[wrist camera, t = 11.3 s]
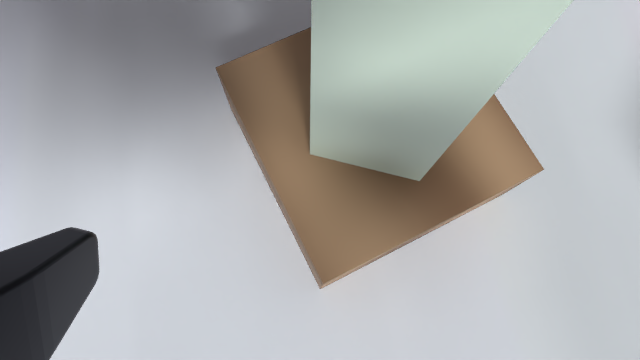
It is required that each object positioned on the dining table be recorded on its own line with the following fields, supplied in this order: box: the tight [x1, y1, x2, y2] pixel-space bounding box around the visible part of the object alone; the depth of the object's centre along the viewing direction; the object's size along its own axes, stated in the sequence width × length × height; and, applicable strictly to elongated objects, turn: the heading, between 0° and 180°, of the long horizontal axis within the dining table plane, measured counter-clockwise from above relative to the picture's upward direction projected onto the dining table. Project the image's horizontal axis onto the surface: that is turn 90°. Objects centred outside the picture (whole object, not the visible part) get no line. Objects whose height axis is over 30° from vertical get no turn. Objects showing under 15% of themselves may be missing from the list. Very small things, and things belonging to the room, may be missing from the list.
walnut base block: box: [216, 27, 544, 289], centre depth 21 cm, size 10×10×4 cm
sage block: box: [310, 0, 574, 181], centre depth 13 cm, size 4×4×13 cm
